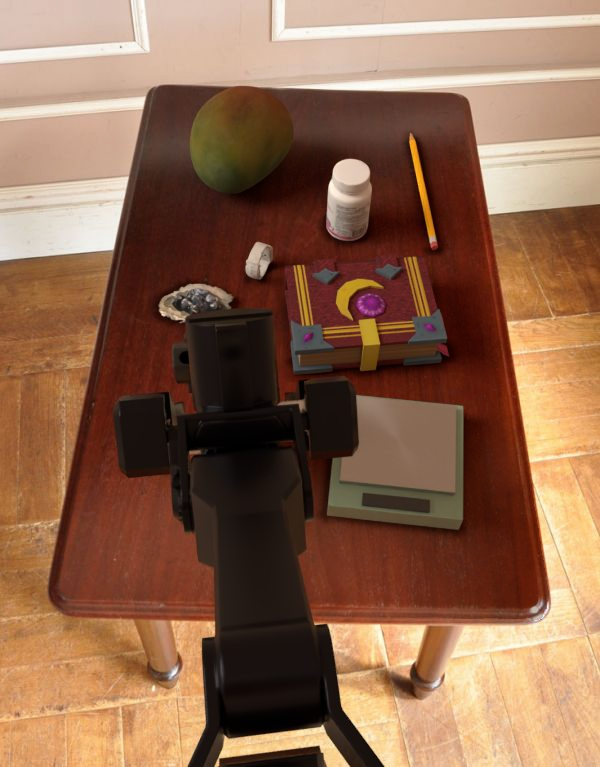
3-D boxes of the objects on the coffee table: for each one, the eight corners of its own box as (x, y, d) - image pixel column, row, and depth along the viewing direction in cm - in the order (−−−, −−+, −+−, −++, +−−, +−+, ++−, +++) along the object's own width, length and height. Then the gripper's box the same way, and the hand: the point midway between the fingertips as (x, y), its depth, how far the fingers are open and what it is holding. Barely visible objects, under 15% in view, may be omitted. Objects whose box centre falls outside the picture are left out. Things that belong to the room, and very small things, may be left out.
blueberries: (228, 338, 89) (227, 327, 87) (151, 332, 89) (149, 320, 87) (236, 288, 92) (236, 277, 91) (163, 282, 93) (161, 270, 91)
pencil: (430, 250, 96) (431, 245, 95) (407, 134, 107) (407, 130, 106) (437, 249, 96) (438, 245, 95) (413, 134, 107) (414, 130, 106)
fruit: (296, 143, 105) (298, 73, 97) (285, 216, 99) (285, 148, 90) (203, 134, 106) (196, 65, 98) (184, 207, 99) (176, 138, 91)
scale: (458, 530, 78) (464, 517, 75) (326, 515, 78) (328, 502, 76) (459, 417, 84) (464, 402, 82) (337, 404, 85) (339, 389, 82)
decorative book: (282, 290, 92) (283, 259, 88) (429, 279, 94) (436, 248, 90) (294, 377, 86) (295, 348, 82) (451, 364, 88) (459, 335, 83)
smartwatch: (260, 288, 93) (260, 263, 89) (242, 282, 93) (241, 257, 90) (273, 265, 94) (273, 240, 91) (255, 259, 95) (255, 234, 92)
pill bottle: (327, 210, 99) (331, 153, 92) (368, 213, 99) (375, 157, 92) (324, 240, 97) (327, 185, 90) (366, 244, 96) (373, 189, 89)
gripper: (365, 328, 59) (334, 302, 75) (92, 351, 58) (117, 320, 73) (374, 481, 62) (341, 426, 77) (111, 507, 60) (131, 446, 75)
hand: (234, 402), depth 75 cm, fingers open, 9 cm apart
